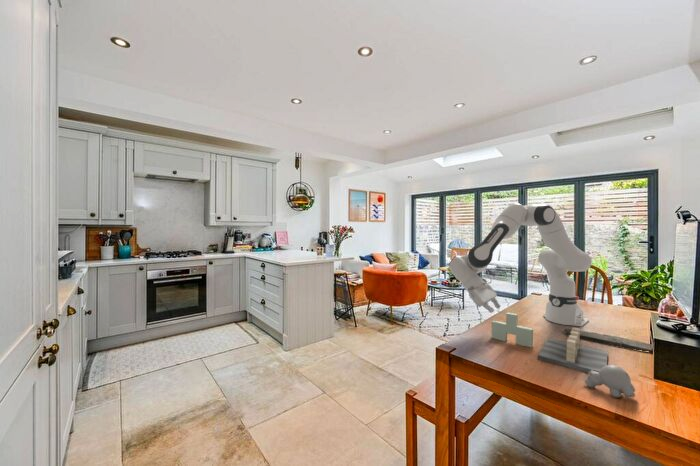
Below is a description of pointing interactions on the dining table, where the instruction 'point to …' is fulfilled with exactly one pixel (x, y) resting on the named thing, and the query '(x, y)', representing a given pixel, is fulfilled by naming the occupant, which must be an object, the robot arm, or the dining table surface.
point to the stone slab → (612, 340)
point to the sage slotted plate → (512, 330)
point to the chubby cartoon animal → (611, 380)
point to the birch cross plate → (573, 353)
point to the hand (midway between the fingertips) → (496, 309)
